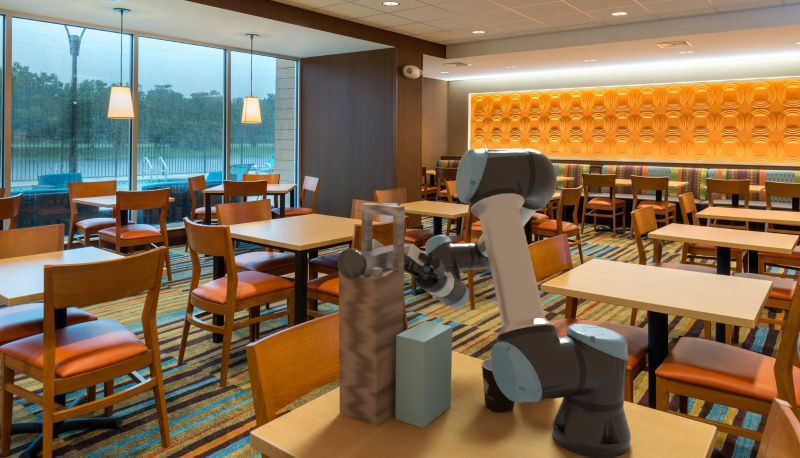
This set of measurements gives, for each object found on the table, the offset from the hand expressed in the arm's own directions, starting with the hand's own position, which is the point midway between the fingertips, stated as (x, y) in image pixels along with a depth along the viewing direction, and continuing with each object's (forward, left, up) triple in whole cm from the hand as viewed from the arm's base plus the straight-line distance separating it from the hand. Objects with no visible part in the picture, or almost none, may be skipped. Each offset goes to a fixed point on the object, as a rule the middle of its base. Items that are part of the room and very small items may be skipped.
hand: (390, 247), depth 132 cm
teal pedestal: (-10, +1, -36) cm, 38 cm away
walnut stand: (0, +7, -36) cm, 37 cm away
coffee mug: (-22, -13, -36) cm, 44 cm away
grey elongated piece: (0, +4, -4) cm, 6 cm away
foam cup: (-28, -23, -36) cm, 51 cm away
